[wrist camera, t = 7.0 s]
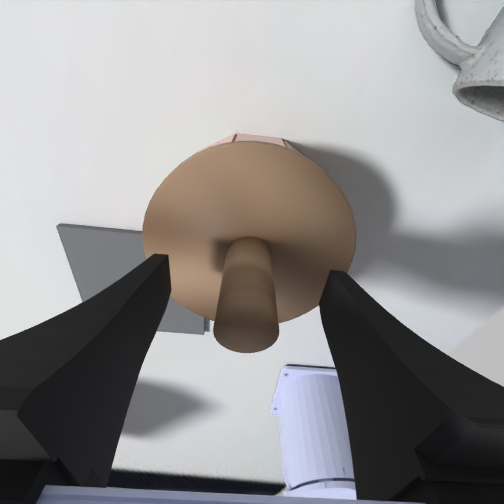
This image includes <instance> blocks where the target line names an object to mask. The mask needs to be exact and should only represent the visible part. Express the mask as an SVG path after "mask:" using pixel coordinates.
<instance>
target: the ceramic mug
mask: <svg viewBox="0 0 504 504" xmlns="http://www.w3.org/2000/svg"><path fill="white" fill-rule="evenodd" d="M415 13H416V18H417V22H418V26H419V30H420V32H421V34H422V36H423V37H424V39H425V40H426V42H427V43H428V44H429V45H430V46H431V47H432V48H433V49H434V50H435V51H436V52H437V53H438V54H440V55H441V56H442V57H444V58H445V59H447V60H448V61H449V62H451V63H454V64H456V65H458V66H459V67H460V68H461V69H462V70H461V72H460V74H459V76H458V78H457V80H456V81H455V83H454V85H453V94H454V95H455V96H456V97H457V99H458V100H459V101H460V102H462V103H463V104H466V105H468V106H470V107H472V108H473V109H475V110H476V111H478V112H481V113H483V114H486V115H489V116H491V117H494V118H496V119H498V120H503V121H504V7H503V8H502V10H501V11H500V12H499V14H498V16H497V17H496V19H495V20H494V22H493V23H492V25H491V26H490V28H489V29H488V30H487V31H486V32H485V34H484V36H483V38H482V40H481V42H480V43H479V44H478V46H477V47H474V46H469V45H468V44H466V43H464V42H463V41H462V40H461V39H460V38H459V37H458V36H456V35H455V34H454V33H453V32H452V31H451V30H450V29H449V28H448V27H447V26H446V25H445V24H444V23H443V22H442V20H441V18H440V16H439V14H438V10H437V5H436V2H435V0H415Z"/></svg>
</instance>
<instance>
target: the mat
mask: <svg viewBox="0 0 504 504" xmlns="http://www.w3.org/2000/svg"><path fill="white" fill-rule="evenodd" d="M56 227H57V230H58V233H59V236H60V239H61V241H62V244H63V247H64V250H65V253H66V256H67V259H68V262H69V264H70V267H71V270H72V273H73V276H74V279H75V282H76V284H77V287H78V290H79V293H80V296H81V299H82V302H84V301H86V300H88V299H89V298H91V297H93V296H95V295H96V294H98V293H99V292H101V291H102V290H104V289H105V288H107V287H108V286H110V285H111V284H113V283H115V282H116V281H118V280H119V279H120V278H122V277H123V276H125V275H126V274H127V273H129V272H130V271H131V270H133V269H134V268H136V267H137V266H138V265H140V264H141V263H142V262H143V261H145V260H146V256H145V252H144V246H143V239H142V238H143V232H142V231H132V230H122V229H111V228H101V227H91V226H80V225H70V224H59V225H57V226H56ZM157 331H162V332H174V333H187V334H200V335H204V332H205V318H204V317H202V316H200V315H198V314H196V313H194V312H191V311H190V310H188V309H187V308H185V307H183V306H182V305H181V304H179V303H178V302H177V301H176V300H174V299H173V298H172V297H171V296H170V298H169V301H168V304H167V308H166V311H165V313H164V315H163V318H162V320H161V322H160V325H159V327H158V329H157Z"/></svg>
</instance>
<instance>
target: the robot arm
mask: <svg viewBox="0 0 504 504" xmlns="http://www.w3.org/2000/svg"><path fill="white" fill-rule="evenodd" d="M171 291H172V289H171V277H170V265H169V255H167V254H156V253H154V254H153V255H151V256H150V257H149V258H147V259H146V260H145V261H143V262H142V263H141V264H140V265H138V266H137V267H136V268H134V269H133V270H131V271H130V272H129V273H127V274H126V275H125V276H123V277H122V278H120V279H119V280H118V281H116V282H115V283H113V284H111V285H110V286H108V287H107V288H105V289H104V290H102V291H101V292H99V293H98V294H96V295H95V296H93V297H91V298H89V299H88V300H86V301H84V302H82V303H81V304H79V305H77V306H75V307H73V308H71V309H70V310H68V311H66V312H64V313H61V314H59V315H57V316H55V317H53V318H51V319H49V320H47V321H45V322H43V323H40V324H38V325H36V326H34V327H31V328H29V329H27V330H24V331H22V332H20V333H17V334H15V335H12V336H10V337H7V338H5V339H2V340H0V504H504V387H503V386H501V385H499V384H497V383H495V382H493V381H491V380H489V379H487V378H486V377H484V376H482V375H480V374H479V373H477V372H475V371H473V370H471V369H470V368H468V367H466V366H464V365H463V364H461V363H459V362H458V361H456V360H454V359H453V358H451V357H450V356H448V355H446V354H445V353H443V352H442V351H440V350H439V349H437V348H436V347H434V346H433V345H431V344H430V343H428V342H427V341H425V340H424V339H422V338H421V337H420V336H418V335H417V334H416V333H414V332H413V331H411V330H410V329H409V328H407V327H406V326H405V325H403V324H402V323H401V322H400V321H398V320H397V319H396V318H395V317H394V316H392V315H391V314H390V313H389V312H388V311H386V310H385V309H384V308H383V307H382V306H381V305H380V304H379V303H377V302H376V301H375V300H374V299H373V298H372V297H371V296H370V295H369V294H368V293H367V292H366V291H365V290H364V289H363V288H361V287H360V286H359V285H358V284H357V283H356V282H355V281H354V280H353V279H352V278H351V277H350V276H349V275H348V274H347V273H345V272H344V271H339V270H330V272H329V275H328V278H327V281H326V284H325V286H324V289H323V292H322V295H321V298H320V301H319V307H320V314H321V320H322V325H323V328H324V332H325V335H326V338H327V342H328V345H329V348H330V351H331V355H332V358H333V361H334V365H335V368H336V369H324V368H310V367H297V366H284V367H283V368H282V371H281V375H280V378H279V382H278V385H277V388H276V392H275V395H274V399H273V402H272V406H271V409H270V413H271V414H272V415H279V427H280V441H281V455H282V469H283V476H284V480H285V483H286V485H287V487H288V491H284V492H283V496H266V495H245V494H223V493H202V492H181V491H160V490H139V489H118V488H106V486H107V482H108V478H109V475H110V471H111V467H112V463H113V460H114V456H115V452H116V448H117V445H118V441H119V438H120V434H121V431H122V427H123V424H124V420H125V417H126V413H127V410H128V407H129V404H130V400H131V397H132V394H133V391H134V388H135V385H136V382H137V378H138V375H139V372H140V369H141V366H142V364H143V361H144V359H145V356H146V354H147V351H148V349H149V347H150V345H151V343H152V340H153V338H154V336H155V334H156V331H157V329H158V327H159V325H160V322H161V320H162V318H163V315H164V313H165V311H166V308H167V304H168V301H169V298H170V294H171Z"/></svg>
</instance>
